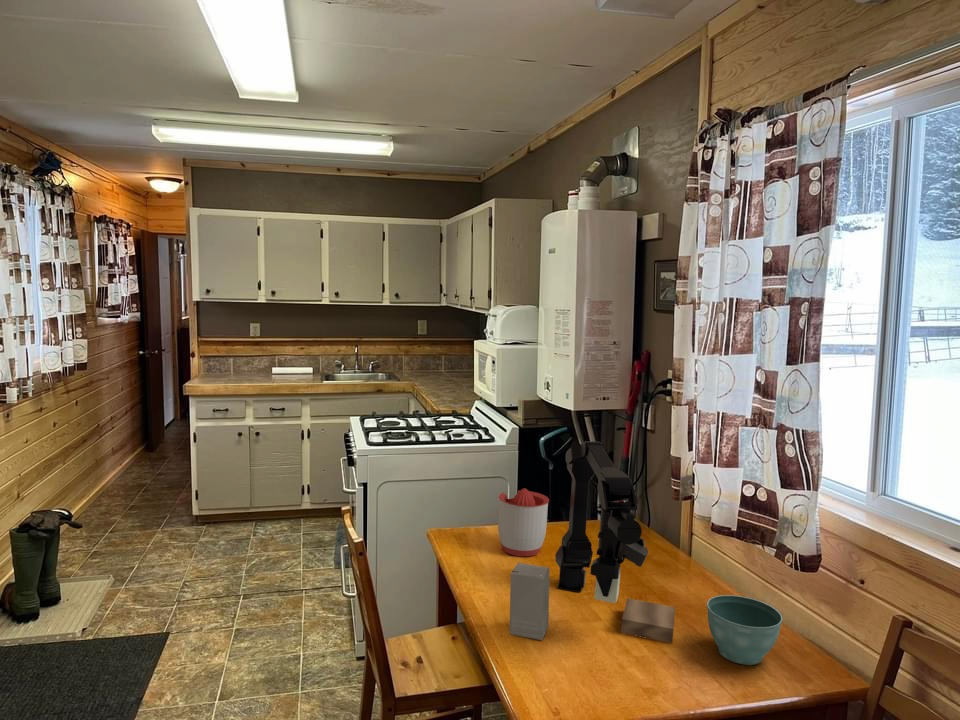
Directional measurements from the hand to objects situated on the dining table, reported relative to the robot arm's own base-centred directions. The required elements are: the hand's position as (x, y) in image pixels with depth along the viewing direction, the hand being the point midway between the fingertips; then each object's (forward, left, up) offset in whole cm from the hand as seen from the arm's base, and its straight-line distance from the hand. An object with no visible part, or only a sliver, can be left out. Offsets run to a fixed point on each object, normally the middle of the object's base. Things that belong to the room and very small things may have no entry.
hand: (607, 591), depth 163 cm
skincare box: (-17, -6, -11) cm, 21 cm away
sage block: (0, 0, -1) cm, 1 cm away
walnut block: (+10, +9, -11) cm, 17 cm away
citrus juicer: (-32, +44, -11) cm, 56 cm away
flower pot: (+31, +4, -11) cm, 33 cm away
